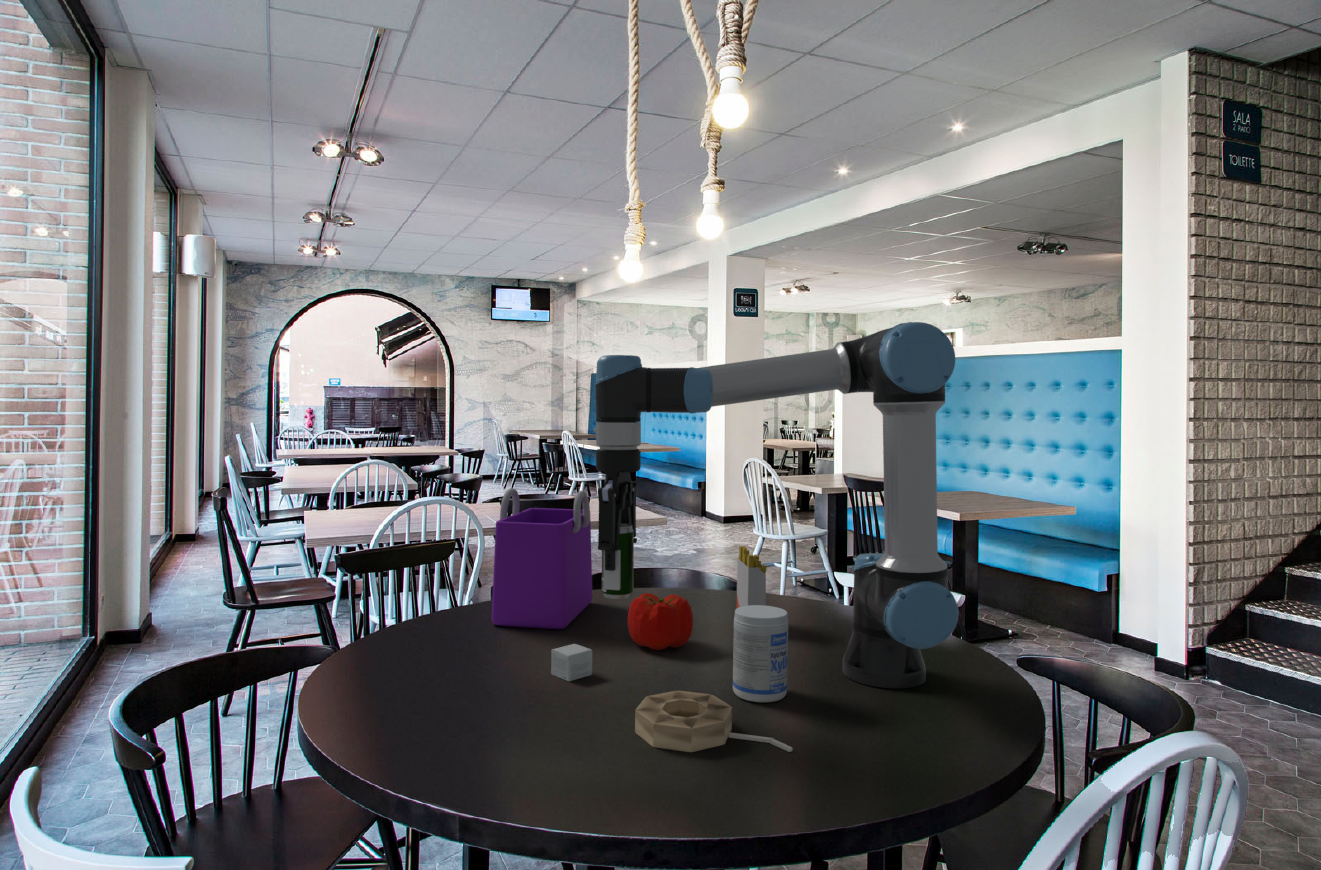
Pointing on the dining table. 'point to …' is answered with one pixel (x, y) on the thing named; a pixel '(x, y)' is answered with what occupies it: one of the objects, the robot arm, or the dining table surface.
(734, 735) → the drinking straw
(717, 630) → the dining table surface
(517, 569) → the shopping bag
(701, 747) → the tan octagonal bowl
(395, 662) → the dining table surface
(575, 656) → the small box
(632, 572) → the beer can
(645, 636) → the tomato
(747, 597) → the french fries container
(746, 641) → the supplement tub
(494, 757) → the dining table surface
